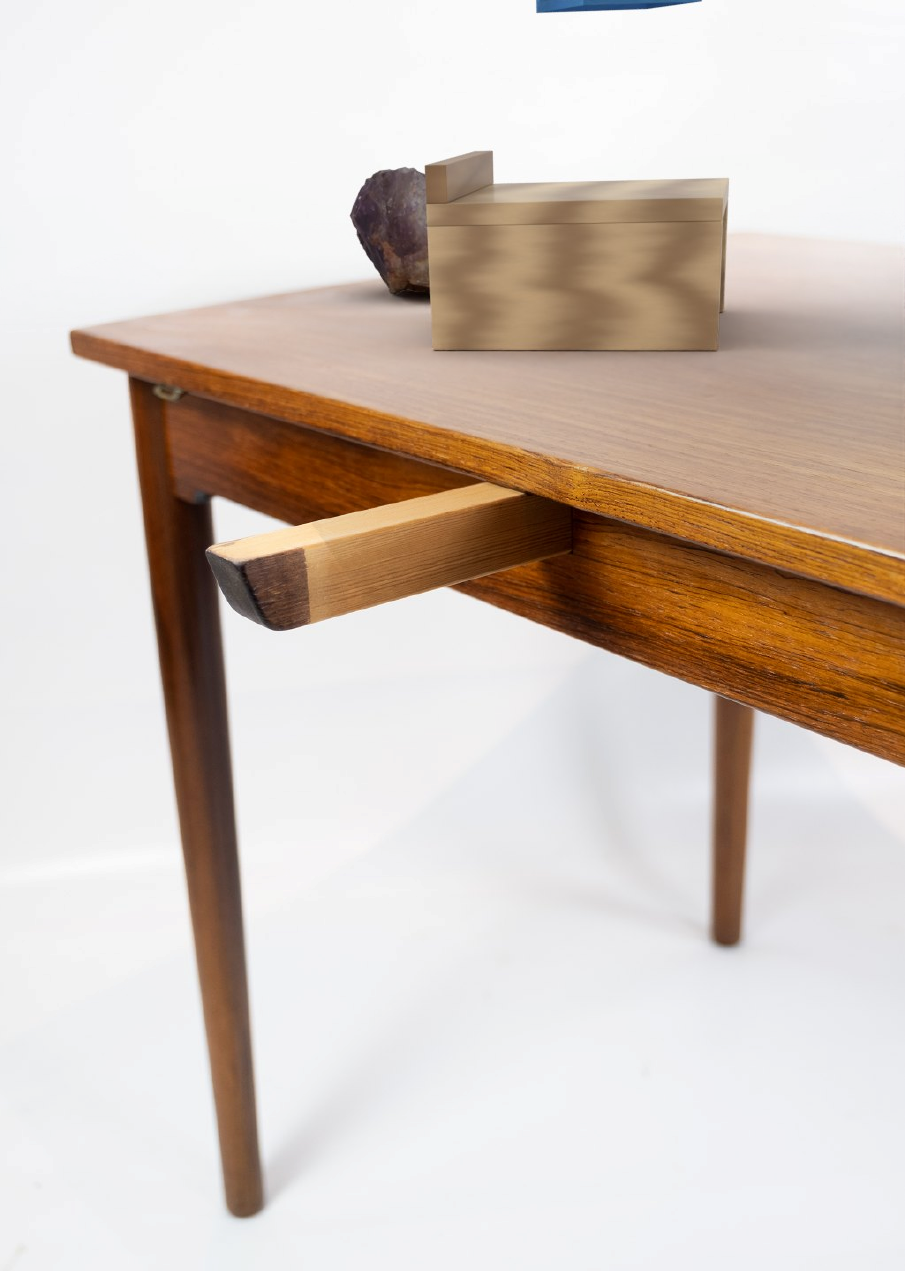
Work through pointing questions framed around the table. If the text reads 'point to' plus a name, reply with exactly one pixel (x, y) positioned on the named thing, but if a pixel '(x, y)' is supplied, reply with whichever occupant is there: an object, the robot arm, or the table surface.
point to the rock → (395, 227)
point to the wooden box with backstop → (573, 261)
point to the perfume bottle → (603, 5)
